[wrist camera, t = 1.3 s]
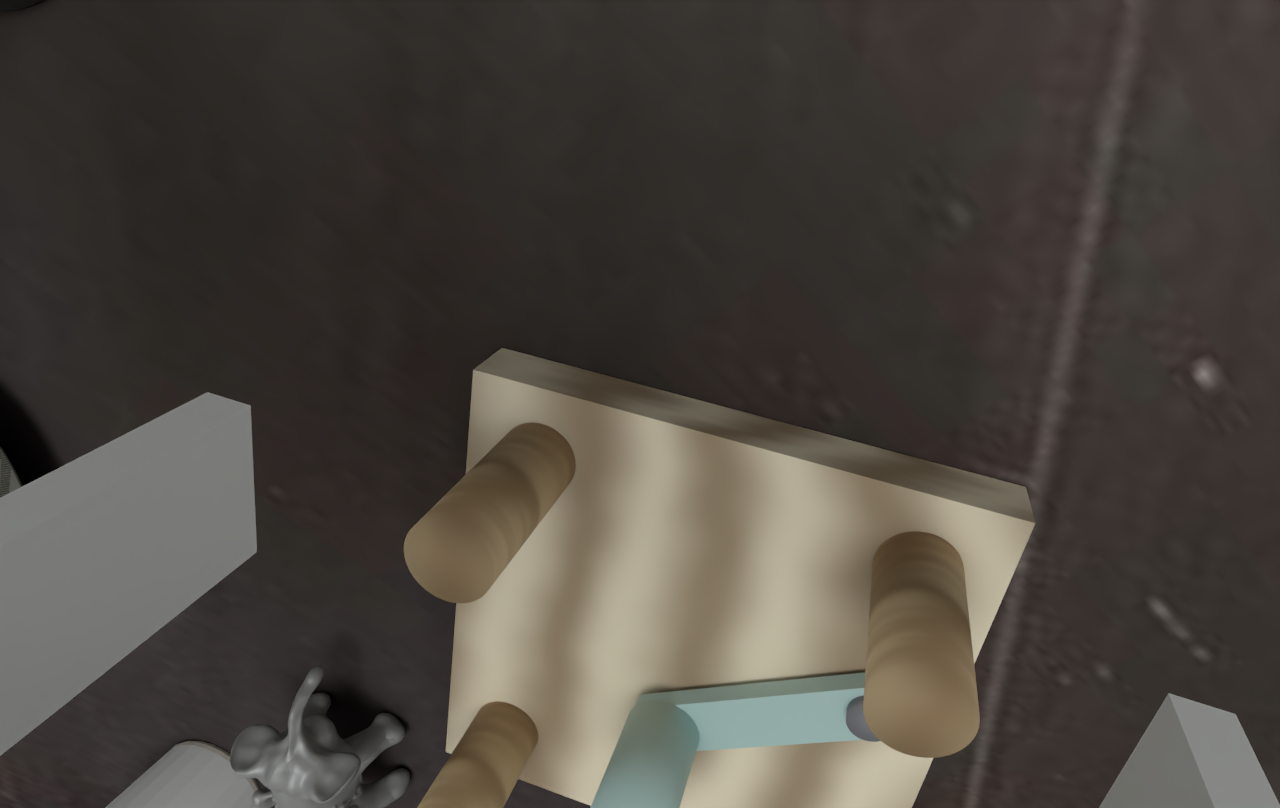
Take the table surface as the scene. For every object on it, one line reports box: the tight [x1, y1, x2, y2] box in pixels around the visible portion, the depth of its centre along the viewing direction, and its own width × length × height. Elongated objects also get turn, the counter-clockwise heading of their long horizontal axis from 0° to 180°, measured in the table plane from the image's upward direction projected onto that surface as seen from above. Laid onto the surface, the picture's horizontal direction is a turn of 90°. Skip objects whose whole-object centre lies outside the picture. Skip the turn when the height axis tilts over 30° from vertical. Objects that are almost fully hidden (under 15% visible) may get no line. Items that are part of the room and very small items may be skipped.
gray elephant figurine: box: [230, 665, 410, 808], centre depth 50 cm, size 9×12×8 cm
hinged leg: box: [590, 673, 880, 808], centre depth 36 cm, size 13×4×8 cm, turn 111°
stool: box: [404, 348, 1035, 808], centre depth 38 cm, size 25×24×12 cm
